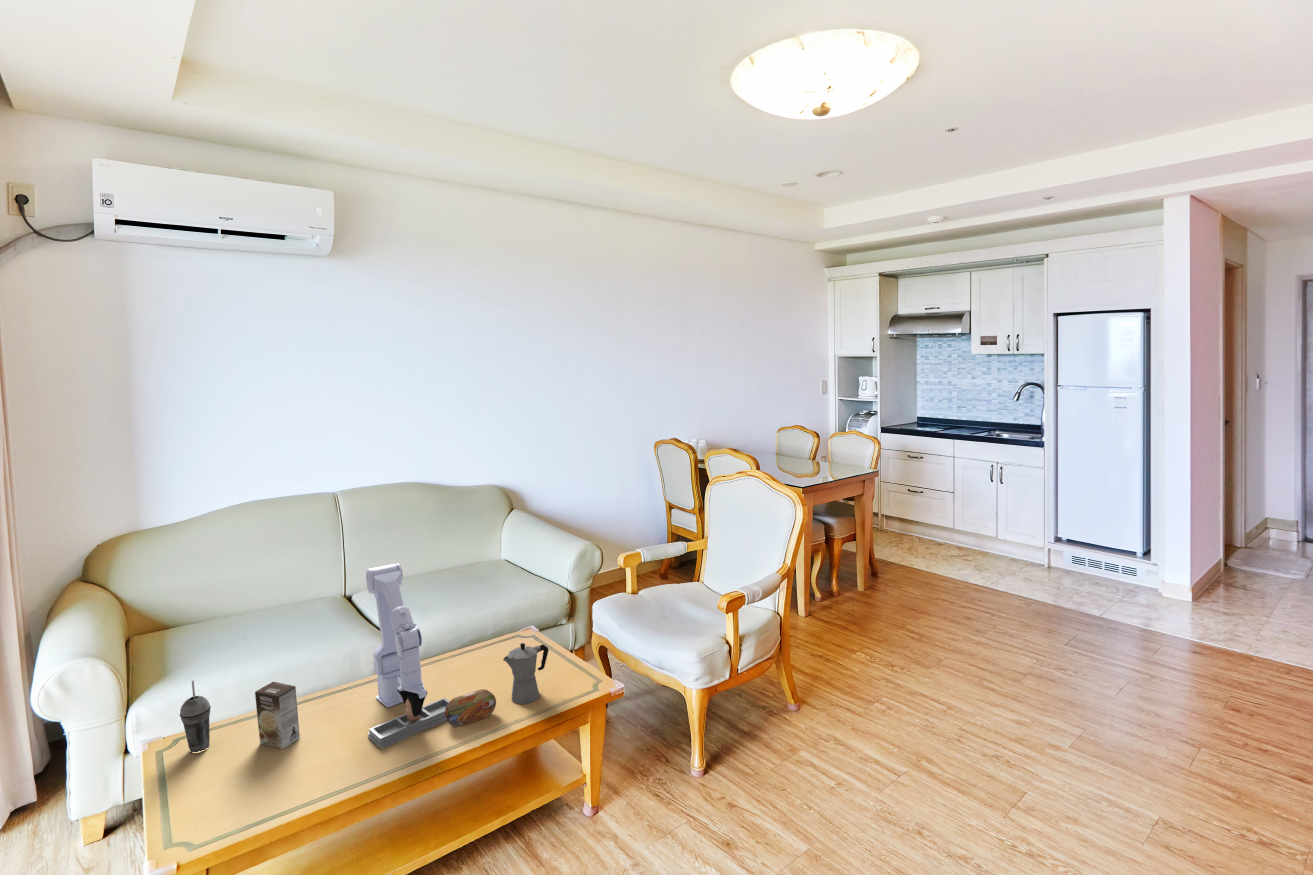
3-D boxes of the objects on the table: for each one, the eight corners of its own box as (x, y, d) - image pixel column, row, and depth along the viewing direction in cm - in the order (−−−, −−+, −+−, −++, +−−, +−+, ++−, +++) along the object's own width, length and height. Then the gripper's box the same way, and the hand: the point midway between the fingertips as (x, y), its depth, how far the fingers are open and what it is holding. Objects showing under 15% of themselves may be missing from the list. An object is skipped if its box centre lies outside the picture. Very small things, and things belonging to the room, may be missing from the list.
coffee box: (258, 744, 191) (253, 691, 189) (277, 732, 197) (272, 680, 195) (283, 749, 188) (277, 695, 186) (301, 737, 194) (296, 685, 192)
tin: (447, 730, 195) (445, 703, 194) (444, 725, 198) (442, 699, 197) (497, 714, 203) (495, 688, 202) (493, 710, 206) (492, 684, 205)
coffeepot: (512, 709, 206) (508, 654, 204) (500, 697, 213) (497, 644, 211) (556, 694, 215) (554, 640, 212) (543, 682, 222) (541, 631, 220)
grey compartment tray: (368, 737, 193) (367, 727, 192) (444, 704, 210) (443, 696, 209) (381, 749, 186) (380, 739, 186) (459, 714, 204) (458, 706, 203)
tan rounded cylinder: (404, 718, 198) (402, 696, 197) (417, 713, 201) (415, 691, 200) (410, 723, 195) (409, 700, 194) (423, 717, 198) (422, 695, 197)
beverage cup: (182, 759, 184) (173, 691, 182) (186, 746, 191) (178, 680, 188) (213, 751, 187) (205, 684, 185) (216, 739, 194) (209, 673, 192)
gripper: (386, 666, 198) (389, 709, 200) (408, 681, 188) (412, 726, 190) (409, 658, 203) (412, 700, 205) (432, 672, 193) (435, 716, 195)
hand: (413, 712), depth 198 cm, fingers closed on tan rounded cylinder, 4 cm apart
